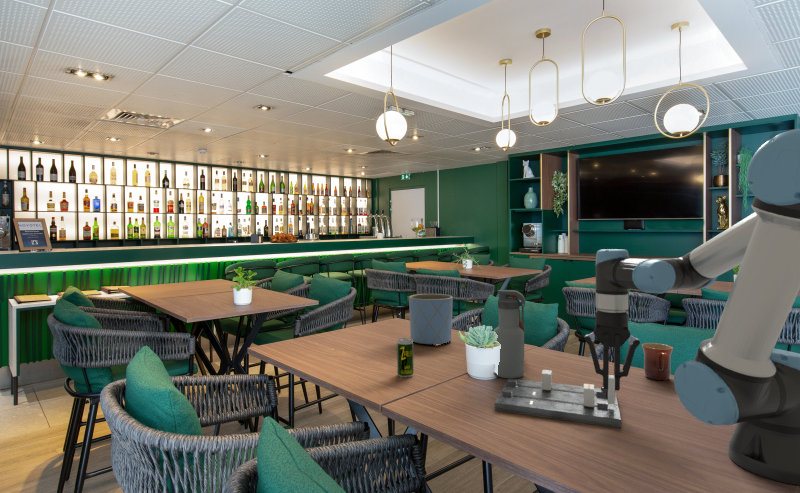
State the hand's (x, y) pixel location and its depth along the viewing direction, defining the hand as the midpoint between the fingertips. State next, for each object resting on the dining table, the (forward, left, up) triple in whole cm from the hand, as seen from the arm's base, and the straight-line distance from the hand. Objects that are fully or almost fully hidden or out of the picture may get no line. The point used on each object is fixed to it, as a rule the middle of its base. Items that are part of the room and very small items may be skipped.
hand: (611, 401), depth 113 cm
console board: (+4, +13, -4) cm, 14 cm away
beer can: (+12, +61, -4) cm, 62 cm away
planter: (+60, +68, -4) cm, 91 cm away
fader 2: (0, +5, -1) cm, 5 cm away
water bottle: (+25, +29, -4) cm, 39 cm away
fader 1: (+9, +16, -1) cm, 19 cm away
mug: (+37, -16, -4) cm, 40 cm away
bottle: (+43, +30, -4) cm, 53 cm away
